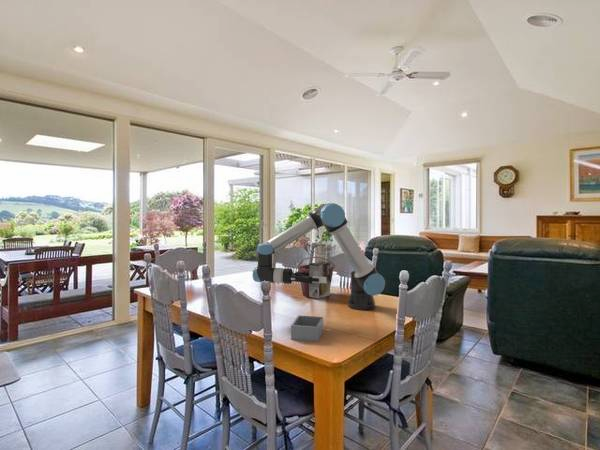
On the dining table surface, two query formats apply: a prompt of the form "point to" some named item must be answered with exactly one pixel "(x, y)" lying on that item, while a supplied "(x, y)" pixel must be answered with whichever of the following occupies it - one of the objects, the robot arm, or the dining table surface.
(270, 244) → the robot arm
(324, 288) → the coffee box
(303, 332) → the grey well
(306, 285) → the bucket
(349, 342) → the dining table surface
